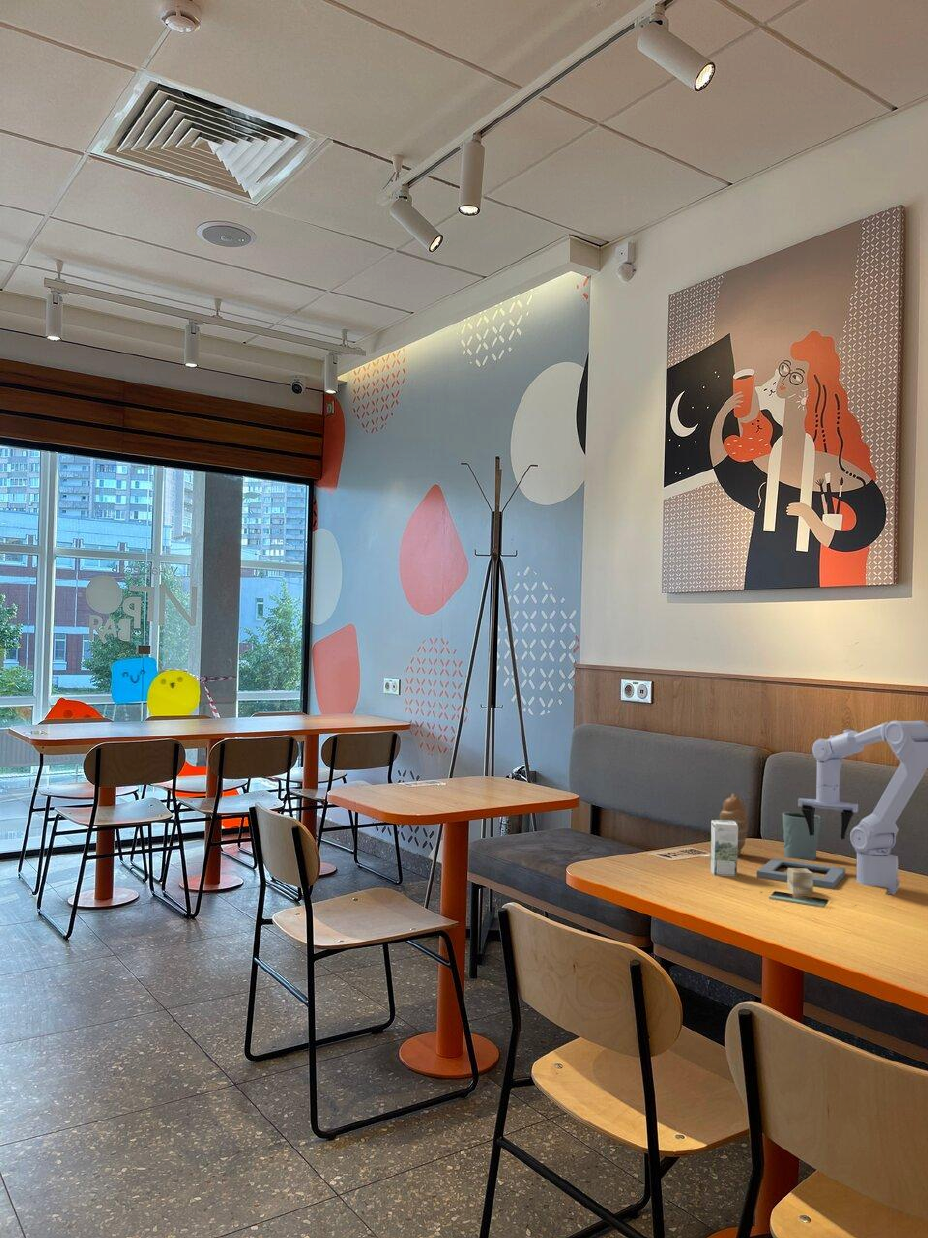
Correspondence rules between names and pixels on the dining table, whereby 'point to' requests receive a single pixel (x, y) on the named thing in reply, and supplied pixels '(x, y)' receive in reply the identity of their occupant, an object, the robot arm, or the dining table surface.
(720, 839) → the syrup box
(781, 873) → the box
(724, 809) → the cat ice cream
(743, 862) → the dining table surface
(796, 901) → the zone pad
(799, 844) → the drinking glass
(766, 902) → the dining table surface
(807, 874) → the maple block
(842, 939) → the dining table surface
